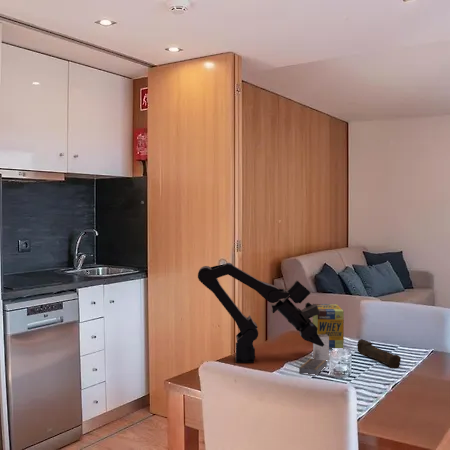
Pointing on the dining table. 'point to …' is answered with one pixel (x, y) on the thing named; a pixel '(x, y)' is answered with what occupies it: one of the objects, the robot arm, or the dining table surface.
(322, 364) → the grey gold-striped flat block
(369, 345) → the dark brown rod
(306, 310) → the robot arm
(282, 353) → the dining table surface
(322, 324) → the protein box
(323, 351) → the pale upright block
